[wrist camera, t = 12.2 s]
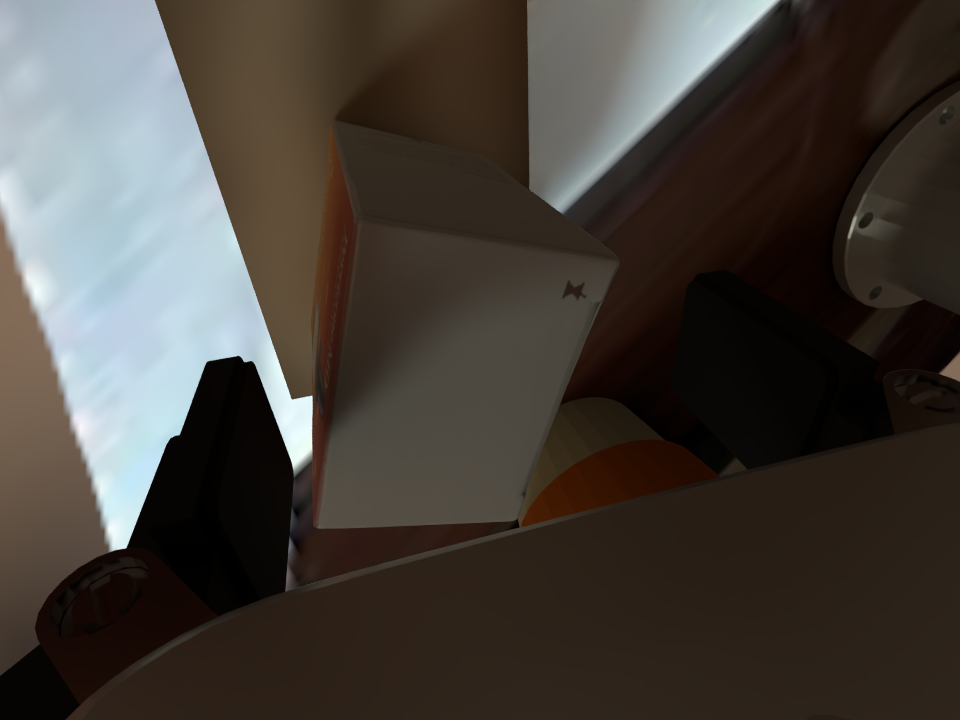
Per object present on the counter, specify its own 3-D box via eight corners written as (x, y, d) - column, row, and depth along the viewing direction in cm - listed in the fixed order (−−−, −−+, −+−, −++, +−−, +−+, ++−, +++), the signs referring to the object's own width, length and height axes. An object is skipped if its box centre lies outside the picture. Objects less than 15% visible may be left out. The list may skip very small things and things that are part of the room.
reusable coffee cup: (532, 550, 36) (645, 812, 24) (437, 454, 29) (531, 760, 17) (685, 455, 35) (882, 678, 23) (627, 331, 28) (870, 561, 16)
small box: (329, 115, 17) (351, 202, 8) (486, 152, 19) (631, 253, 10) (307, 328, 21) (307, 538, 12) (440, 340, 23) (520, 528, 14)
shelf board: (503, -128, 16) (544, -161, 14) (517, 328, 26) (542, 365, 23) (130, -119, 14) (86, -155, 12) (292, 374, 24) (290, 421, 21)
